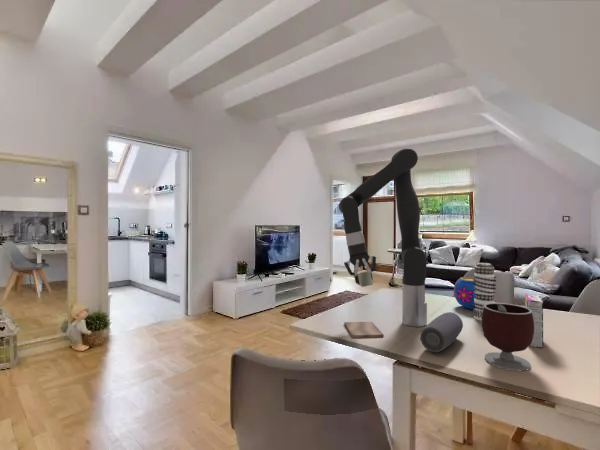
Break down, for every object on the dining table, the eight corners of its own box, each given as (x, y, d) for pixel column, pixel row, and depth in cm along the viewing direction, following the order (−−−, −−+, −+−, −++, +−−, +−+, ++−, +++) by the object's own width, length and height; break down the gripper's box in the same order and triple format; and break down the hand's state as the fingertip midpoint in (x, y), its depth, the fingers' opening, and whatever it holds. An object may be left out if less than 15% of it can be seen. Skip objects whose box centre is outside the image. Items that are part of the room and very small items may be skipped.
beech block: (364, 270, 145) (370, 272, 133) (366, 281, 144) (372, 284, 132) (354, 272, 144) (359, 274, 132) (356, 283, 144) (362, 287, 132)
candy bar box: (524, 336, 126) (524, 293, 126) (540, 338, 123) (540, 295, 123) (526, 345, 116) (526, 299, 116) (543, 348, 114) (544, 301, 113)
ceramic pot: (492, 315, 154) (492, 283, 154) (451, 309, 163) (451, 279, 163) (493, 306, 169) (493, 277, 168) (455, 302, 178) (455, 274, 178)
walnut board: (371, 323, 142) (371, 321, 141) (383, 337, 126) (383, 334, 126) (344, 324, 141) (344, 322, 141) (352, 337, 125) (352, 335, 125)
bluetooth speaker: (438, 334, 129) (438, 308, 129) (464, 339, 123) (464, 312, 123) (418, 352, 111) (418, 322, 111) (447, 359, 105) (447, 328, 105)
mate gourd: (489, 349, 113) (490, 292, 113) (538, 362, 103) (539, 299, 102) (473, 363, 102) (473, 299, 102) (526, 379, 92) (526, 308, 92)
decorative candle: (499, 322, 143) (499, 265, 143) (476, 320, 145) (476, 264, 145) (491, 316, 152) (491, 262, 152) (470, 315, 154) (470, 262, 154)
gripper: (340, 246, 135) (349, 287, 134) (374, 239, 135) (383, 280, 134) (338, 246, 142) (346, 285, 141) (370, 240, 143) (379, 278, 141)
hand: (364, 282), depth 138 cm, fingers closed on beech block, 4 cm apart
